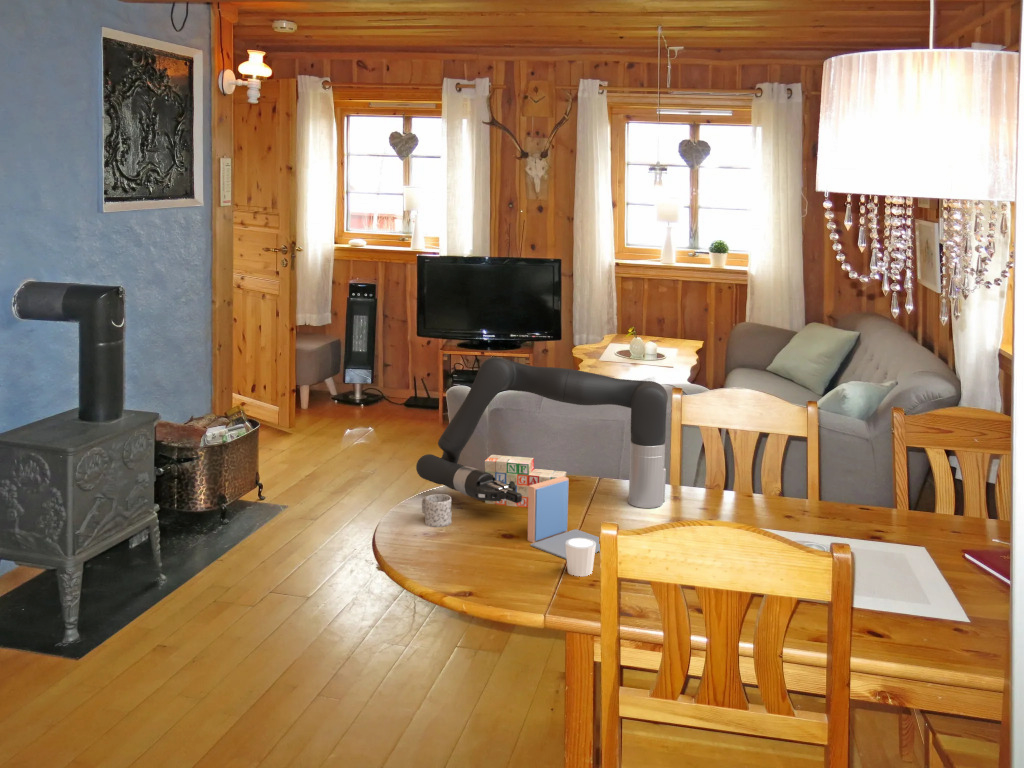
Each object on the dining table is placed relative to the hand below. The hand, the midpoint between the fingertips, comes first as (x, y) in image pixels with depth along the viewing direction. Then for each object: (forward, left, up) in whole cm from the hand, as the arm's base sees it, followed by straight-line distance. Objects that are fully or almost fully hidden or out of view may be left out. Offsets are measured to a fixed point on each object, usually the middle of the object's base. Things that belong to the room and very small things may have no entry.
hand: (519, 498), depth 261 cm
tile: (0, +10, -7) cm, 12 cm away
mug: (+14, -17, -7) cm, 23 cm away
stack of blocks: (-13, -12, -7) cm, 19 cm away
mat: (0, +19, -7) cm, 20 cm away
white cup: (+11, +31, -7) cm, 34 cm away
